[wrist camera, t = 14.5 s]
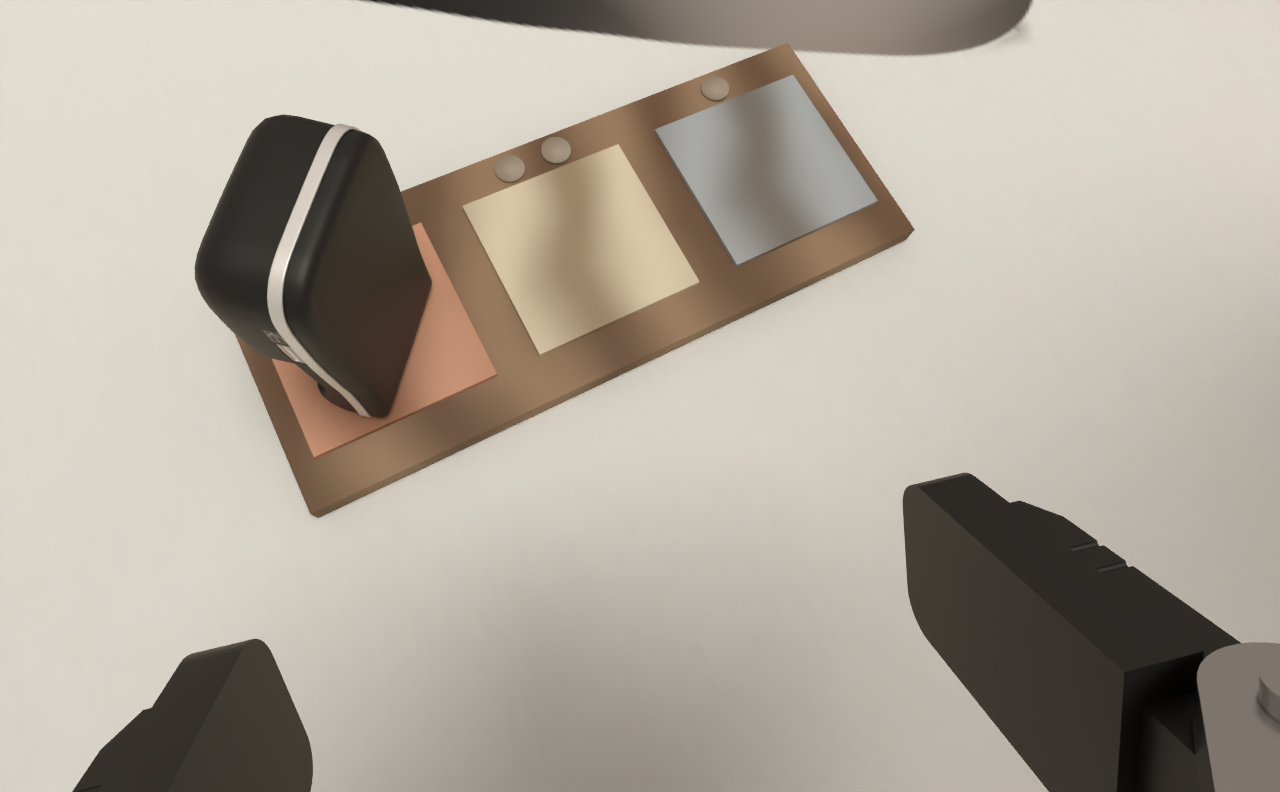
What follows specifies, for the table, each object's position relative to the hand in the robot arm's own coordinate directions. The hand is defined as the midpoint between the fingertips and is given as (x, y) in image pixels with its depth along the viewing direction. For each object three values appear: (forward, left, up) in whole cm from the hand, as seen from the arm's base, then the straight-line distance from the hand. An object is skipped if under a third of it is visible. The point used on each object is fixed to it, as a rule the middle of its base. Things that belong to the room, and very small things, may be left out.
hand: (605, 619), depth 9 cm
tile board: (-8, -15, -22) cm, 28 cm away
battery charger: (+3, -15, -21) cm, 26 cm away
